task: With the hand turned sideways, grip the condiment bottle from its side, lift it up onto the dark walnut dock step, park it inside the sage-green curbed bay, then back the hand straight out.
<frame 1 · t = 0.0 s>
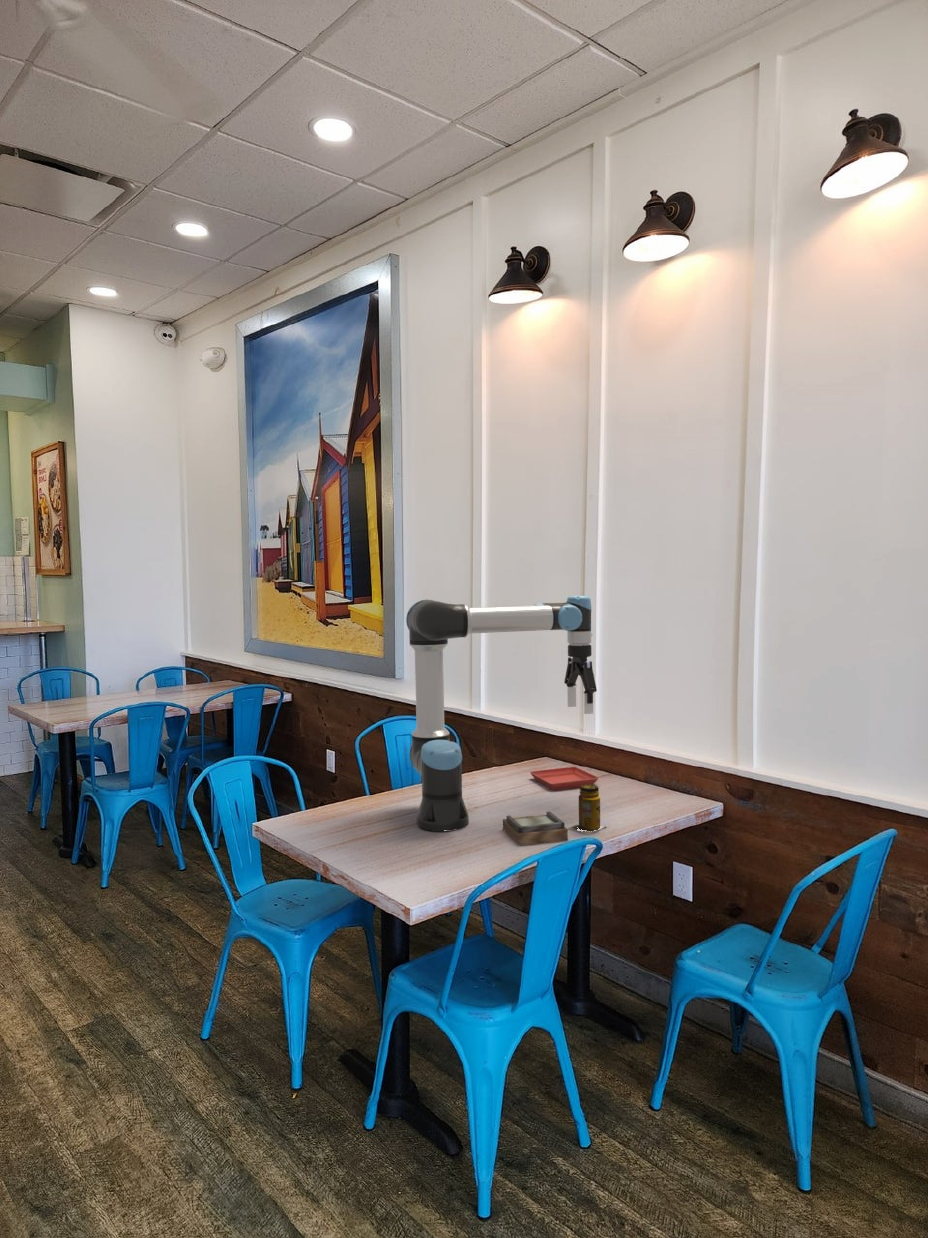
hand: (580, 710, 258), 28 cm above the table, tool pointing down, fingers open, 13 cm apart
plant saucer: (563, 784, 276), on the table
dock: (534, 834, 223), on the table
condiment: (587, 829, 227), on the table
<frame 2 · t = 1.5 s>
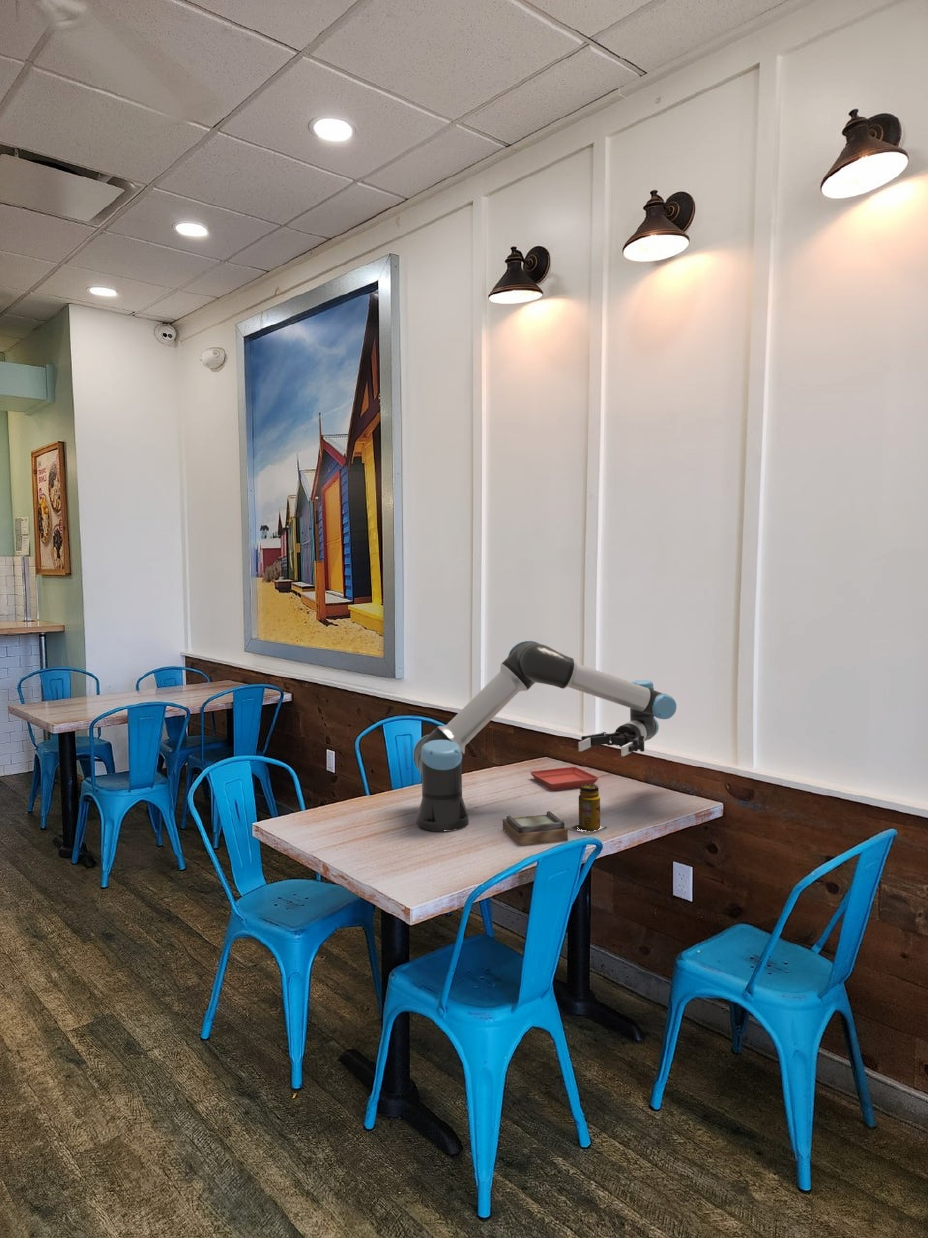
hand: (600, 749, 234), 21 cm above the table, tool horizontal, fingers open, 13 cm apart
nothing on the table moved.
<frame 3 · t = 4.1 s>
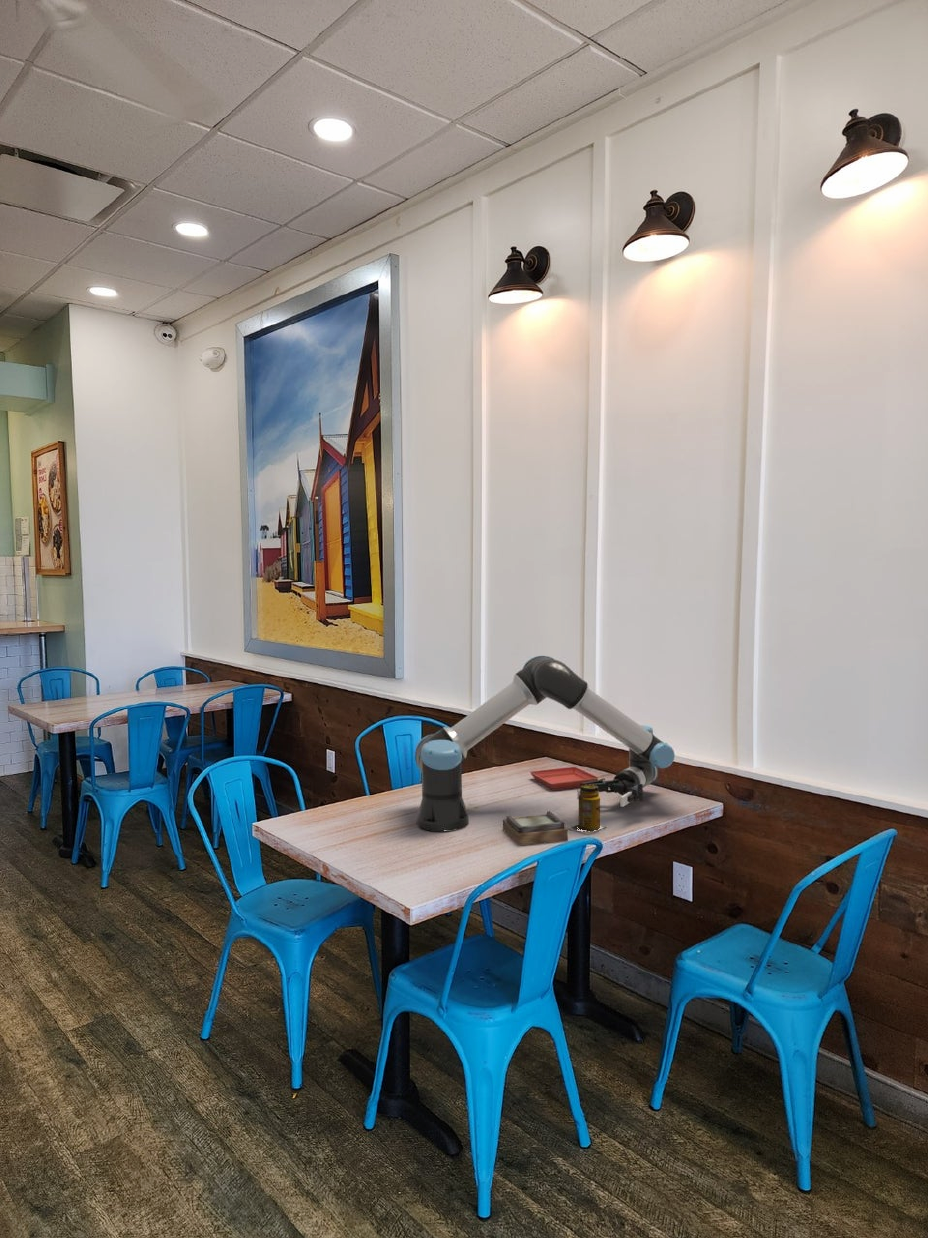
hand: (599, 798, 233), 7 cm above the table, tool horizontal, fingers open, 13 cm apart
nothing on the table moved.
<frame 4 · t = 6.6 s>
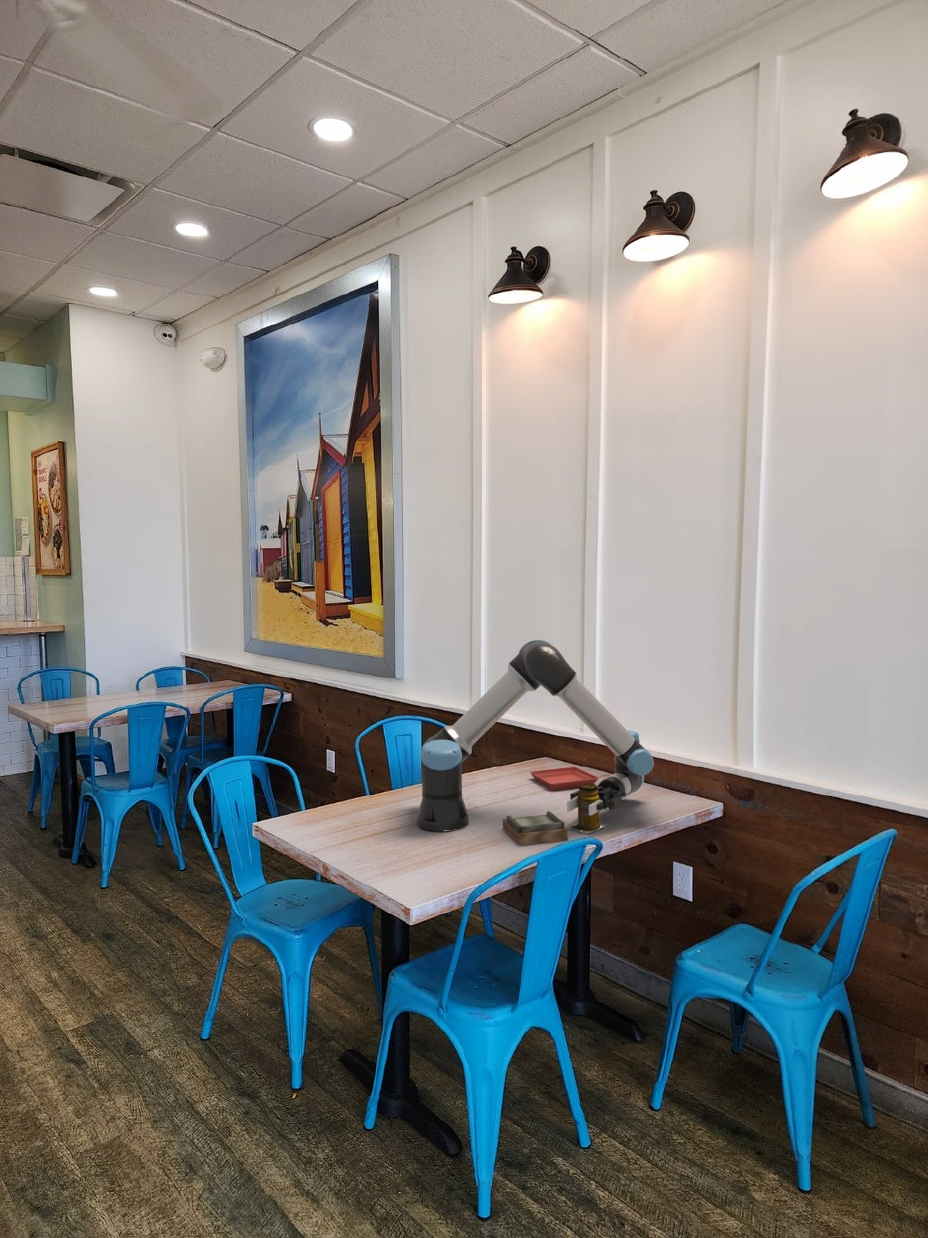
hand: (579, 808, 223), 7 cm above the table, tool horizontal, fingers closed on condiment, 6 cm apart
condiment: (586, 828, 227), on the table, touching gripper
everything else where it was.
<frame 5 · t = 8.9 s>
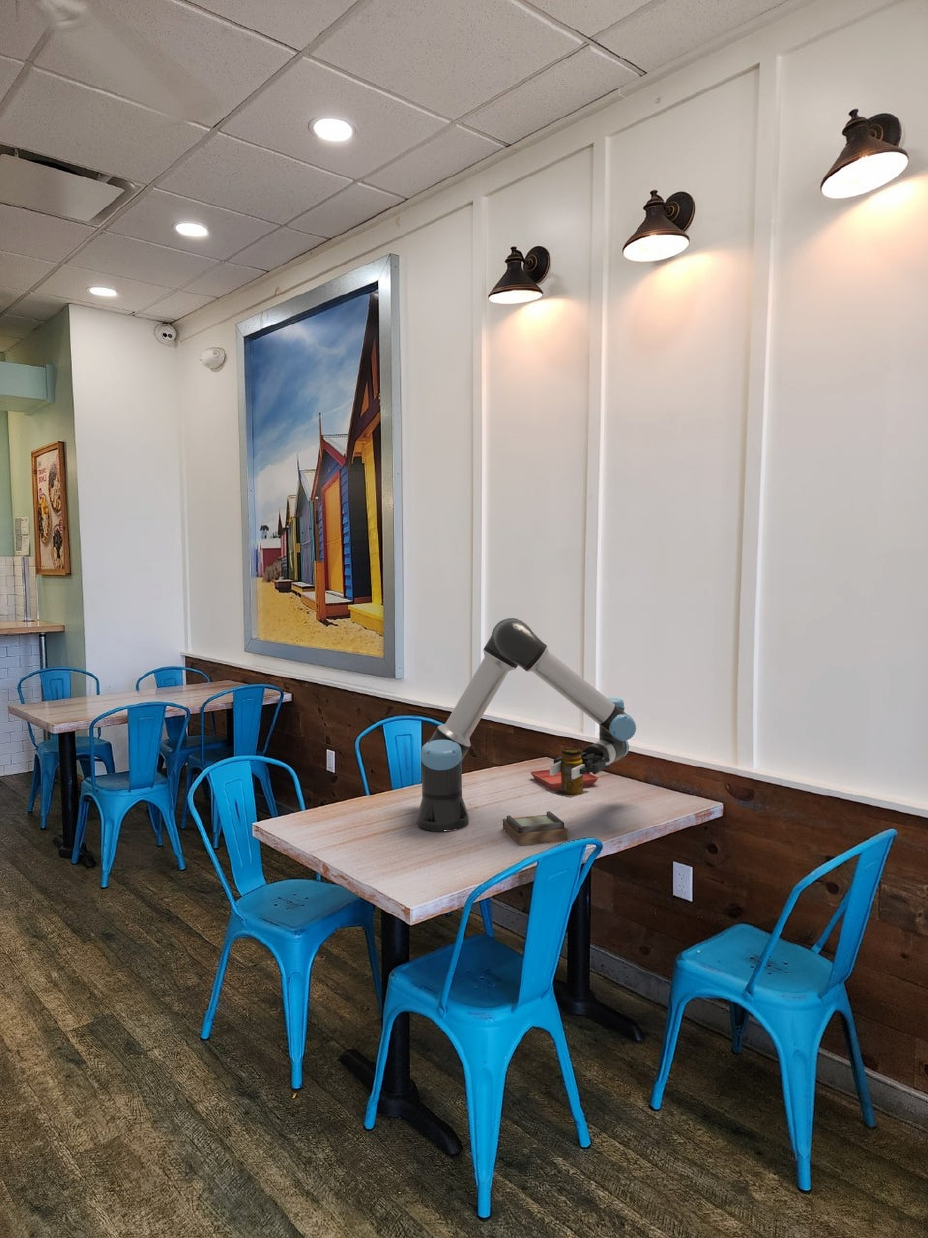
hand: (561, 772, 220), 18 cm above the table, tool horizontal, fingers closed on condiment, 6 cm apart
condiment: (569, 793, 225), point 11 cm above the table, touching gripper
everything else where it was.
when the fingers open (12 cm above the table, at t = 11.5 s): condiment drops 2 cm, resting on dock.
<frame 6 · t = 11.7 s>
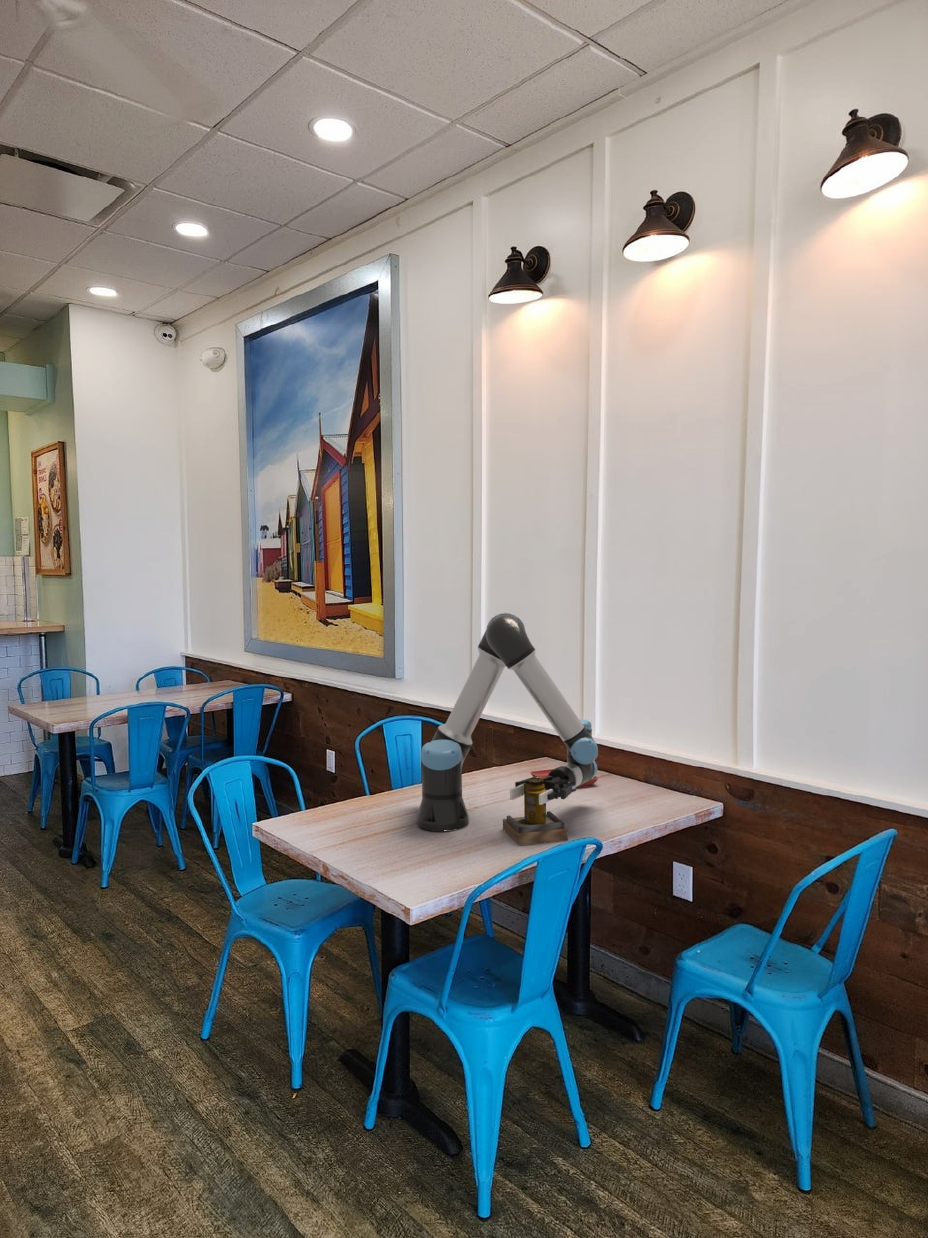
hand: (525, 797, 218), 12 cm above the table, tool horizontal, fingers open, 8 cm apart
condiment: (532, 823, 223), point 3 cm above the table, touching dock
everything else where it was.
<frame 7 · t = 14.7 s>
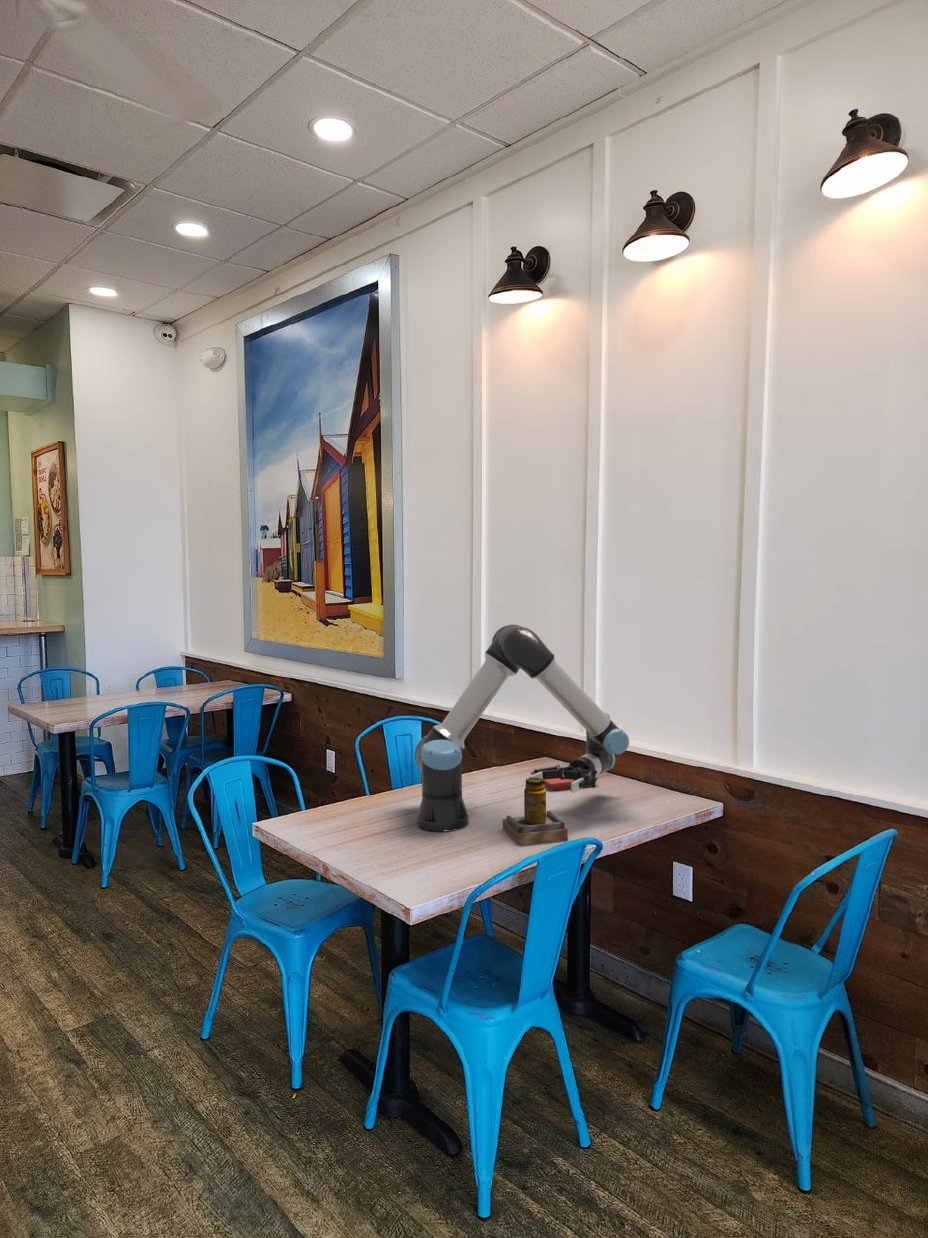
hand: (551, 784, 230), 12 cm above the table, tool horizontal, fingers open, 13 cm apart
nothing on the table moved.
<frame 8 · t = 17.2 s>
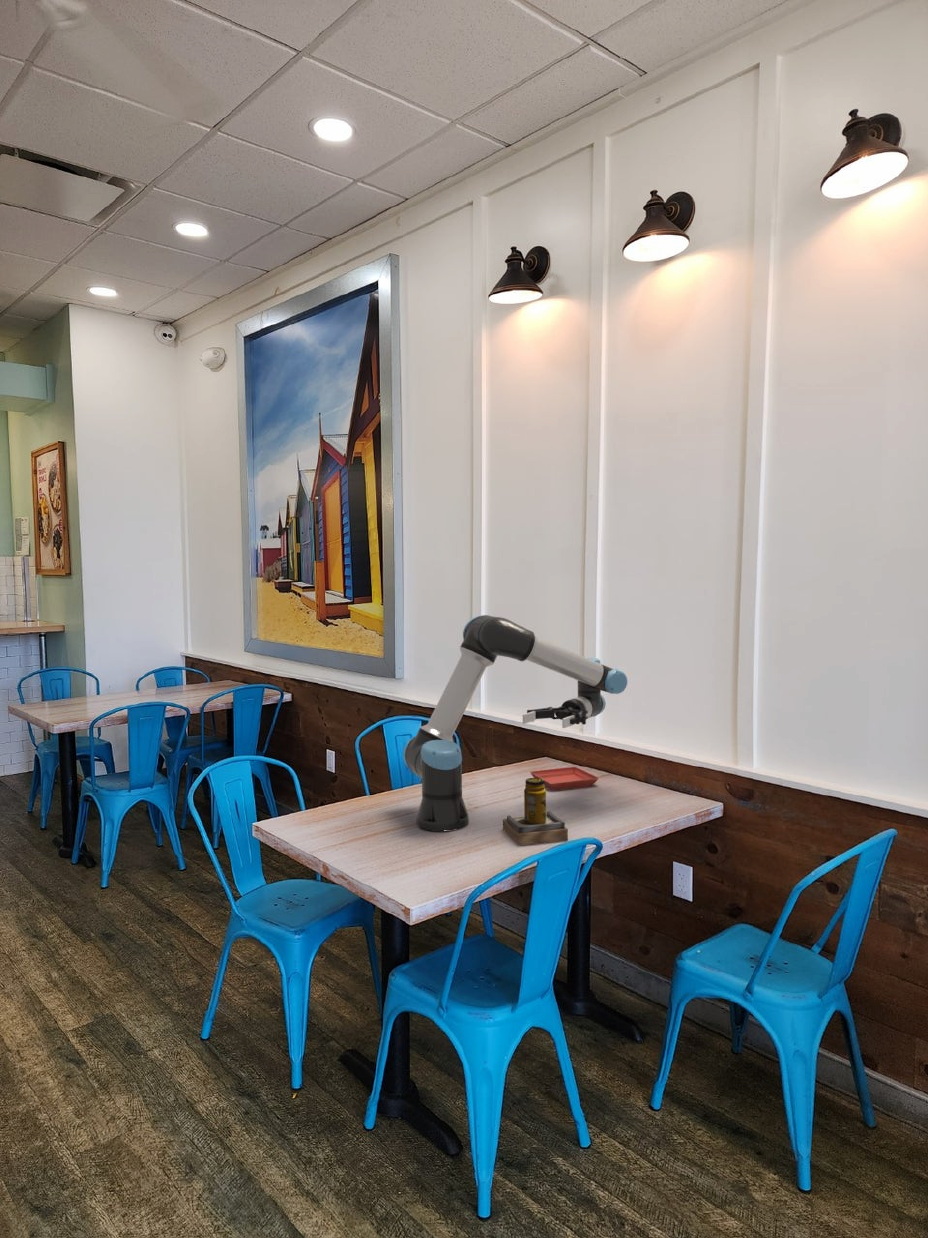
hand: (543, 721, 240), 28 cm above the table, tool horizontal, fingers open, 13 cm apart
nothing on the table moved.
at the end: condiment inside the target area on the dock (0.8 cm from its centre), point 3.0 cm above the dock's base; condiment tilted 0°; the gripper is holding nothing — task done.
